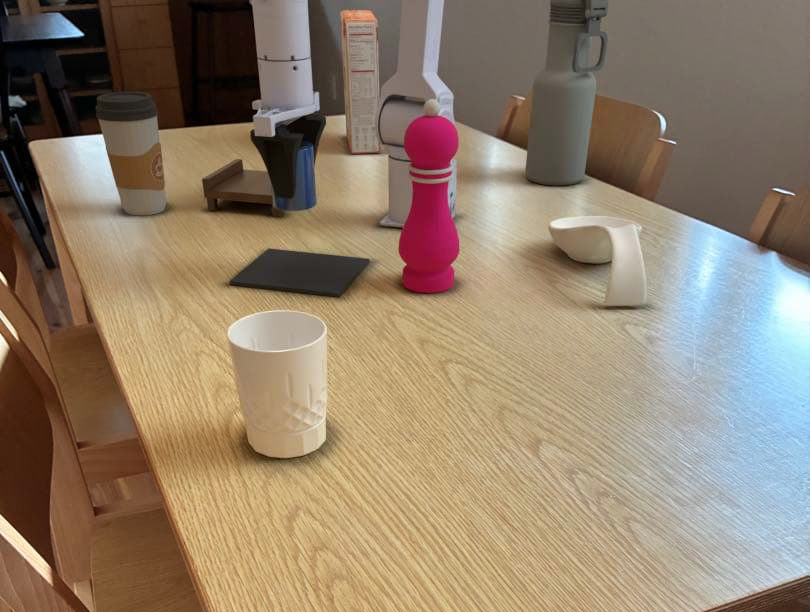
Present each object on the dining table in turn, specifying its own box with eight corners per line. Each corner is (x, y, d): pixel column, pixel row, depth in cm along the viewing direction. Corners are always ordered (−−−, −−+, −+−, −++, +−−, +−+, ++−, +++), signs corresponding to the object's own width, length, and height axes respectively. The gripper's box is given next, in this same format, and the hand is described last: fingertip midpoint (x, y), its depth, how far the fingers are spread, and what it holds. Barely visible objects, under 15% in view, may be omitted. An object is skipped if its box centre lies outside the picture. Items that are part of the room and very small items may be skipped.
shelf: (310, 194, 127) (308, 164, 124) (281, 217, 118) (278, 185, 115) (240, 188, 129) (236, 158, 126) (206, 210, 120) (201, 178, 117)
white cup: (245, 417, 73) (230, 311, 66) (332, 413, 73) (326, 308, 67) (238, 465, 67) (221, 353, 60) (334, 461, 67) (327, 349, 61)
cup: (322, 200, 97) (319, 141, 93) (307, 212, 93) (303, 151, 89) (282, 196, 98) (277, 138, 94) (265, 209, 95) (259, 148, 90)
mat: (369, 262, 104) (369, 258, 103) (339, 297, 94) (339, 293, 94) (268, 252, 106) (268, 248, 106) (229, 285, 97) (229, 280, 97)
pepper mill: (464, 277, 100) (474, 95, 87) (448, 298, 94) (455, 108, 82) (409, 269, 101) (410, 91, 89) (390, 290, 96) (388, 103, 84)
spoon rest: (537, 240, 110) (543, 185, 106) (622, 239, 111) (631, 184, 106) (576, 310, 92) (585, 246, 87) (677, 308, 92) (691, 244, 88)
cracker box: (344, 137, 157) (339, 9, 144) (375, 136, 158) (372, 9, 145) (348, 155, 146) (343, 18, 133) (381, 154, 147) (379, 18, 134)
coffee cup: (159, 219, 117) (138, 104, 107) (106, 215, 118) (81, 101, 109) (182, 203, 123) (165, 92, 114) (132, 199, 124) (110, 89, 115)
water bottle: (597, 181, 133) (627, -25, 116) (554, 191, 129) (578, -22, 112) (555, 167, 140) (578, -29, 122) (512, 176, 136) (529, -27, 118)
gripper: (275, 46, 93) (286, 172, 101) (220, 66, 82) (237, 205, 90) (333, 49, 91) (339, 176, 100) (285, 69, 80) (295, 210, 89)
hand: (294, 190), depth 95 cm, fingers closed on cup, 5 cm apart
